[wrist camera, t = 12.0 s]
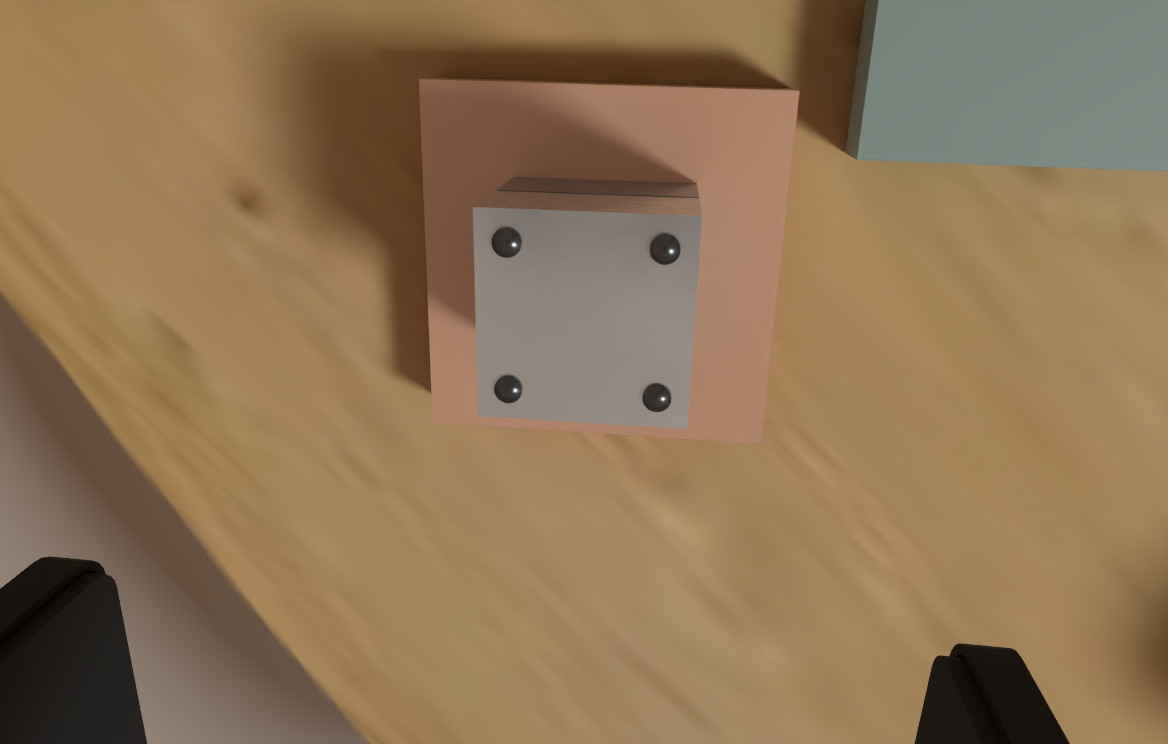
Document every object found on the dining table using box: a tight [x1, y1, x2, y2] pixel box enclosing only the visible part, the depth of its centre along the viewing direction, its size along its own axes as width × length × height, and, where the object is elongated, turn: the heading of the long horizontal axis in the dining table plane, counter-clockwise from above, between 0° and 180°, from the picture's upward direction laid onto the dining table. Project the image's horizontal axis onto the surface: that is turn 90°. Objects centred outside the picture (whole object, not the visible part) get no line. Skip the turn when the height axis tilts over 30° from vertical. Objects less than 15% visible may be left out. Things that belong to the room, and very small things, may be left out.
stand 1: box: [419, 78, 800, 444], centre depth 30 cm, size 12×12×2 cm
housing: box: [473, 177, 702, 429], centre depth 26 cm, size 6×6×6 cm
